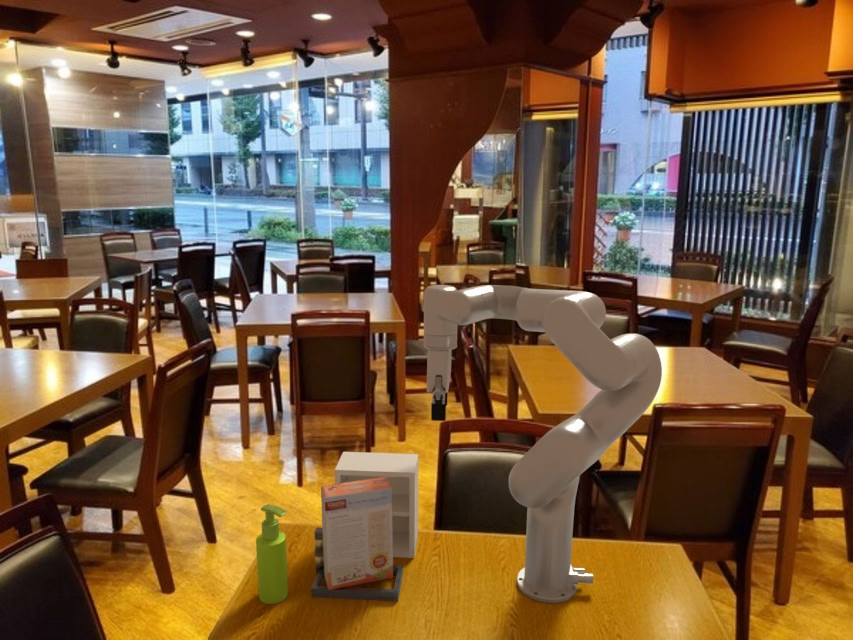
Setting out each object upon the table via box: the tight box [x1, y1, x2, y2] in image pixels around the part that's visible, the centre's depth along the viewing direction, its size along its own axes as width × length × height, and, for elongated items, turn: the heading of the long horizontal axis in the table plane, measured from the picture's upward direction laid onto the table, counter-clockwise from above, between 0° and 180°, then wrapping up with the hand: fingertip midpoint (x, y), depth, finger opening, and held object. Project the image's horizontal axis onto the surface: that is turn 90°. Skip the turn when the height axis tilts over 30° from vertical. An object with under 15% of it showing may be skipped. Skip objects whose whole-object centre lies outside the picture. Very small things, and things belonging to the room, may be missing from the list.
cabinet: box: [334, 451, 419, 559], centre depth 149 cm, size 18×10×21 cm, turn 86°
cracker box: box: [320, 477, 394, 590], centre depth 133 cm, size 14×6×21 cm, turn 108°
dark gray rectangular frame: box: [310, 526, 404, 602], centre depth 135 cm, size 19×10×10 cm, turn 86°
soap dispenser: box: [255, 503, 289, 605], centre depth 130 cm, size 6×7×20 cm
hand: (439, 412), depth 147 cm, fingers open, 9 cm apart
